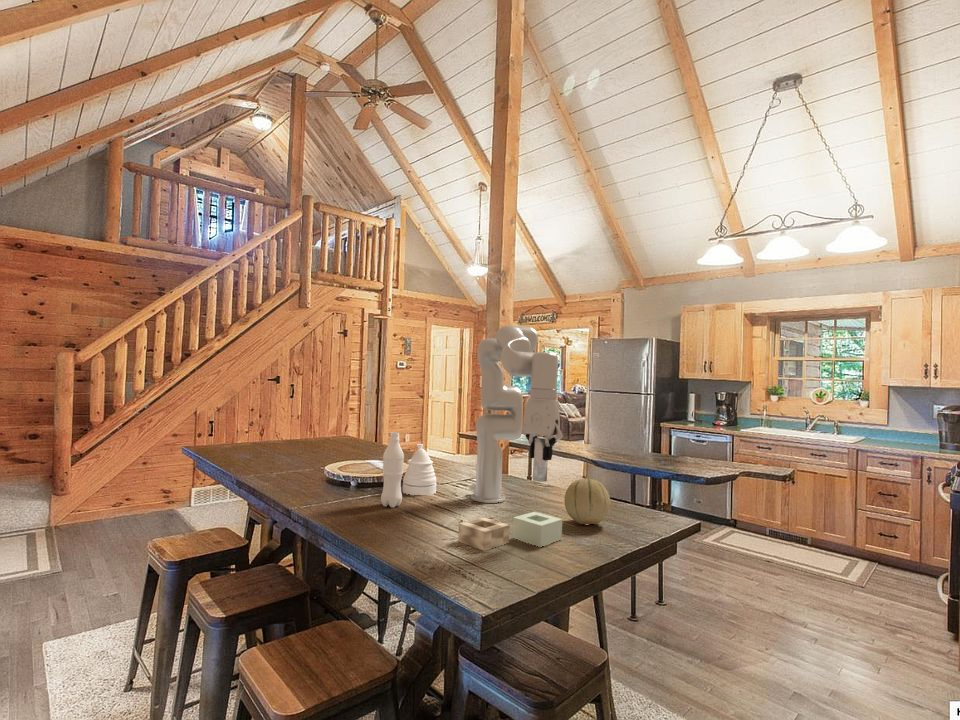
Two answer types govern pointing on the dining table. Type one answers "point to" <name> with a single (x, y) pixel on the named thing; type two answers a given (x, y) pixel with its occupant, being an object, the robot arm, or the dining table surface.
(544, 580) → the dining table surface
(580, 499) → the cantaloupe
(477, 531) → the socket block
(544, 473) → the steel peg
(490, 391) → the robot arm
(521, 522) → the block
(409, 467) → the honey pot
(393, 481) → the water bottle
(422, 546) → the dining table surface
